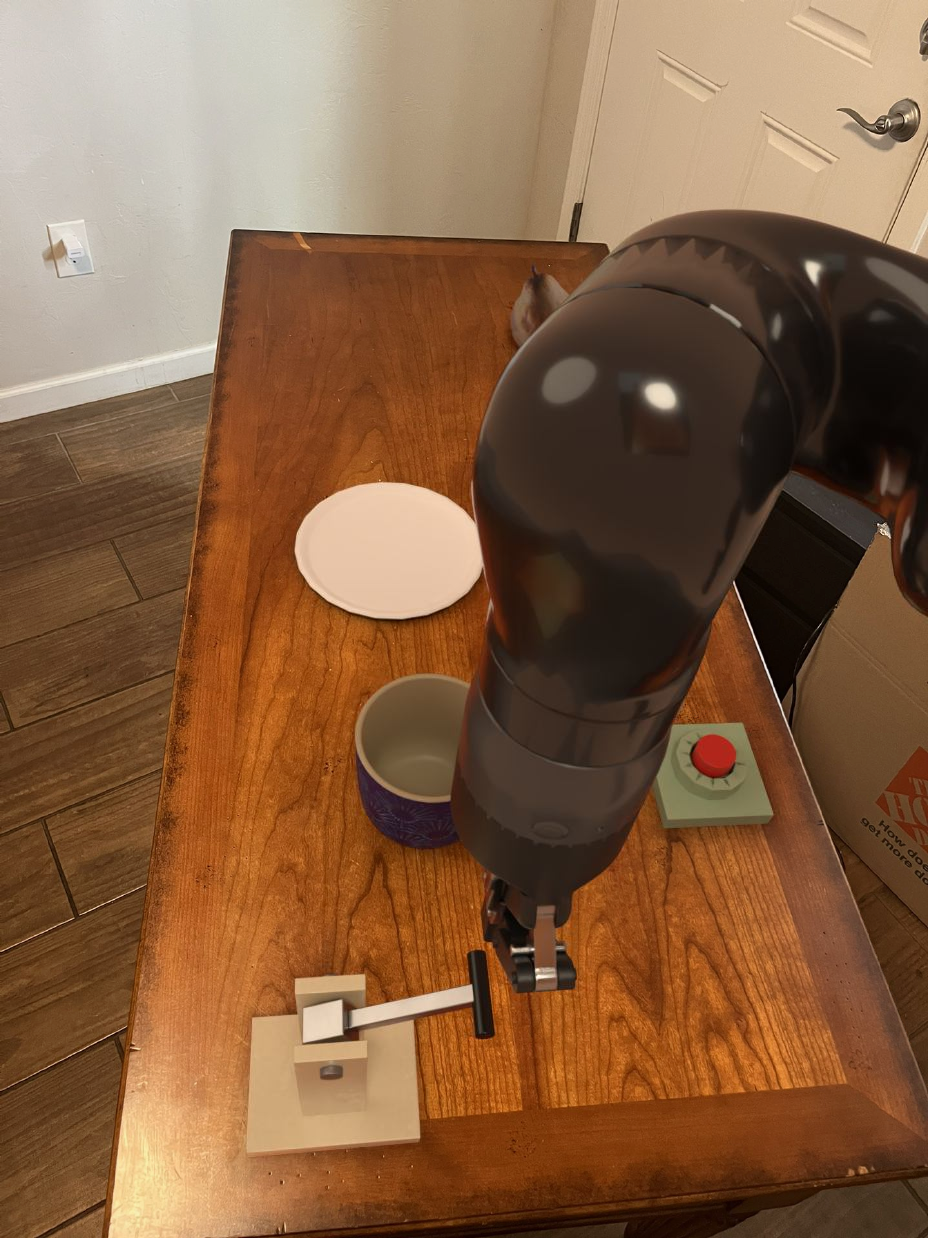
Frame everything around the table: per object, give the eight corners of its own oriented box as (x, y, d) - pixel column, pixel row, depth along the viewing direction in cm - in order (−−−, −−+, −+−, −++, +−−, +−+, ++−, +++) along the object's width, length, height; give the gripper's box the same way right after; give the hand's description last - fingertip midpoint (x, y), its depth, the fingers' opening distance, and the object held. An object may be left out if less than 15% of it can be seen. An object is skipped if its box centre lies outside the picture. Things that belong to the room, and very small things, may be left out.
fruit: (503, 328, 134) (514, 249, 125) (567, 329, 135) (583, 251, 126) (512, 371, 128) (524, 291, 119) (580, 372, 129) (597, 293, 120)
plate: (254, 559, 101) (253, 551, 100) (377, 464, 113) (377, 456, 112) (406, 658, 95) (406, 650, 94) (520, 545, 106) (521, 538, 105)
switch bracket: (412, 1012, 73) (422, 939, 61) (419, 1142, 67) (433, 1088, 56) (253, 1023, 71) (235, 950, 60) (247, 1157, 65) (225, 1105, 54)
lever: (491, 956, 59) (479, 944, 58) (500, 1040, 56) (488, 1030, 55) (319, 995, 62) (302, 985, 60) (319, 1077, 59) (301, 1068, 57)
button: (735, 777, 85) (741, 767, 84) (697, 778, 85) (702, 768, 84) (724, 743, 88) (730, 733, 86) (687, 744, 87) (692, 734, 86)
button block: (767, 824, 86) (781, 805, 84) (662, 828, 85) (672, 809, 82) (737, 731, 93) (748, 711, 90) (639, 735, 91) (647, 714, 89)
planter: (404, 891, 79) (410, 830, 71) (328, 782, 85) (325, 714, 77) (519, 818, 84) (538, 753, 76) (440, 720, 90) (449, 650, 82)
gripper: (694, 913, 32) (594, 1057, 45) (617, 617, 41) (552, 811, 54) (477, 925, 31) (440, 1069, 44) (444, 619, 40) (421, 817, 53)
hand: (501, 927), depth 49 cm, fingers closed
